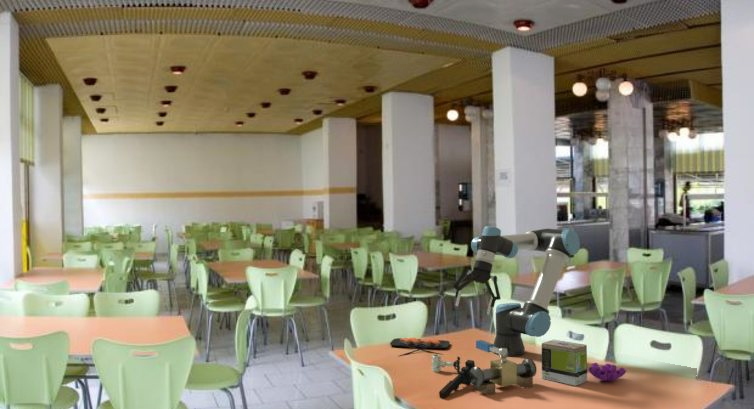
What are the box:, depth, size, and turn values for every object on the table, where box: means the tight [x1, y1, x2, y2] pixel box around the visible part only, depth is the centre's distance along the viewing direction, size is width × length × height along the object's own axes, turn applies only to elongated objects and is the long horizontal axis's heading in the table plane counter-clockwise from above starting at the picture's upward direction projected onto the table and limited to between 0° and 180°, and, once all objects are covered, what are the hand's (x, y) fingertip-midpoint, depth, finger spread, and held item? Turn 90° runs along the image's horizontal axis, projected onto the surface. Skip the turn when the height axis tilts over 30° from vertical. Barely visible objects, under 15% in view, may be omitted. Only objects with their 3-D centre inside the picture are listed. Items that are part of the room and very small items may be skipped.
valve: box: [430, 354, 461, 373], centre depth 252 cm, size 7×7×12 cm
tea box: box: [541, 339, 588, 387], centre depth 239 cm, size 15×10×15 cm, turn 44°
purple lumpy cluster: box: [588, 362, 627, 382], centre depth 238 cm, size 11×15×10 cm
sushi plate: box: [389, 337, 451, 357], centre depth 290 cm, size 29×30×4 cm
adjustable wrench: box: [438, 359, 476, 399], centre depth 229 cm, size 8×3×25 cm
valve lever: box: [475, 339, 508, 359], centre depth 236 cm, size 18×3×3 cm, turn 26°
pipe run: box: [470, 357, 537, 396], centre depth 230 cm, size 27×8×12 cm, turn 116°
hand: (472, 310), depth 251 cm, fingers open, 13 cm apart
